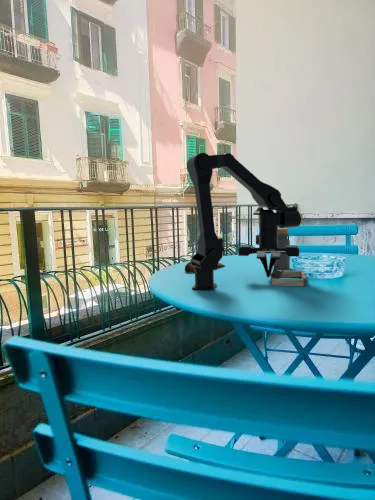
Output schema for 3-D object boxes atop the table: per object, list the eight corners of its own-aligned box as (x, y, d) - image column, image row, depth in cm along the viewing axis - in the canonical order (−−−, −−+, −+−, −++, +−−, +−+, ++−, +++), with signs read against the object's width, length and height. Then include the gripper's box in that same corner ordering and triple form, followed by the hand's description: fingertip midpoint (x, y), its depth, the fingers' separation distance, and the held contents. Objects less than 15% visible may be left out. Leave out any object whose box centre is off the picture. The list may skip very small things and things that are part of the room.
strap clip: (268, 273, 121) (273, 262, 121) (276, 277, 121) (282, 266, 120) (271, 279, 113) (277, 267, 112) (280, 283, 113) (286, 271, 112)
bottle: (291, 269, 133) (291, 229, 131) (275, 270, 134) (275, 229, 131) (287, 266, 139) (287, 227, 137) (272, 267, 139) (272, 228, 137)
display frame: (306, 286, 108) (306, 279, 108) (272, 285, 110) (272, 279, 110) (303, 276, 121) (303, 270, 121) (272, 276, 123) (272, 270, 123)
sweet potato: (204, 273, 130) (195, 257, 131) (190, 282, 134) (182, 266, 135) (226, 265, 145) (218, 251, 146) (213, 273, 149) (205, 259, 150)
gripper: (297, 226, 120) (296, 272, 123) (241, 227, 125) (241, 271, 127) (299, 229, 110) (298, 279, 112) (238, 229, 114) (238, 278, 116)
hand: (268, 277), depth 117 cm, fingers closed
